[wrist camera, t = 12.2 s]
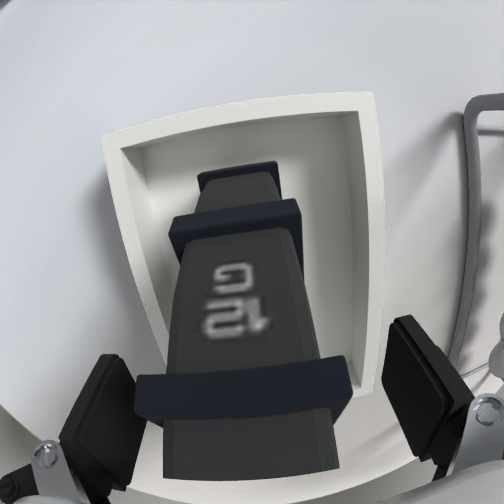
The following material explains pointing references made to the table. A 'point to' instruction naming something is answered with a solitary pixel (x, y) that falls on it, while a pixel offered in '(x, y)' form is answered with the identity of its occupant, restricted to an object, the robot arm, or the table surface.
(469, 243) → the newton's cradle
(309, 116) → the parts tray
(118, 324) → the table surface
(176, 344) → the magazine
